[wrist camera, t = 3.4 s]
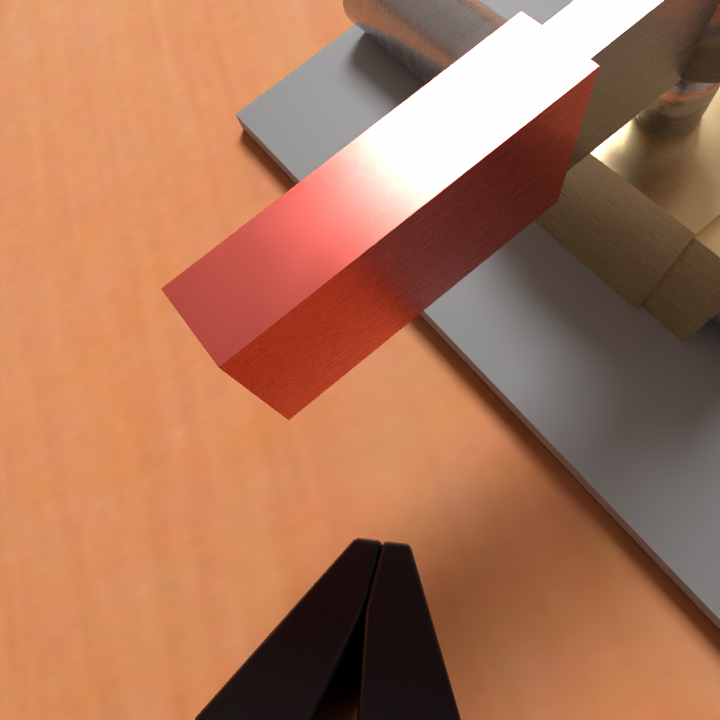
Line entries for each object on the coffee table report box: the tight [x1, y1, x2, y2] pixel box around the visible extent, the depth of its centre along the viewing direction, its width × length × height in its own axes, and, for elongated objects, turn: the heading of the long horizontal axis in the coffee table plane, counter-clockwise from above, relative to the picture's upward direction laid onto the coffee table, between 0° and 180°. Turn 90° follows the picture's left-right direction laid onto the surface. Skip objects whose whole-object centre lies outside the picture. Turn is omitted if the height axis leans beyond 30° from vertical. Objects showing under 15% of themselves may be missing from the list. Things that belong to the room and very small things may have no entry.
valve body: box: [343, 0, 720, 342], centre depth 15 cm, size 25×4×6 cm, turn 39°
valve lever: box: [162, 0, 720, 420], centre depth 10 cm, size 13×3×3 cm, turn 129°
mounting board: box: [236, 0, 720, 630], centre depth 18 cm, size 26×14×1 cm, turn 39°
